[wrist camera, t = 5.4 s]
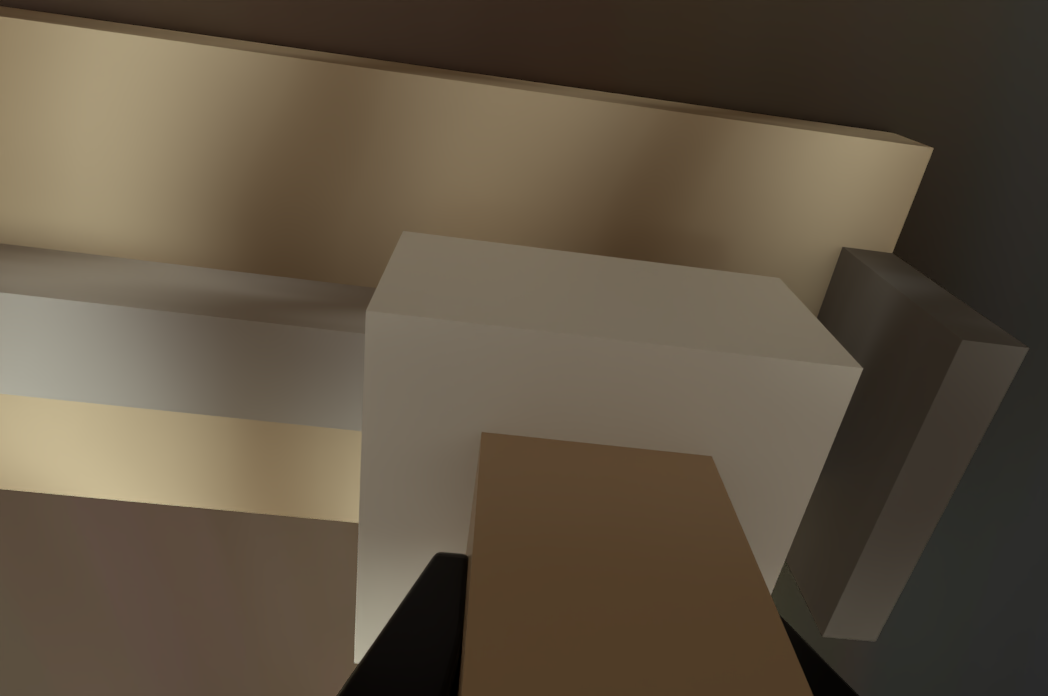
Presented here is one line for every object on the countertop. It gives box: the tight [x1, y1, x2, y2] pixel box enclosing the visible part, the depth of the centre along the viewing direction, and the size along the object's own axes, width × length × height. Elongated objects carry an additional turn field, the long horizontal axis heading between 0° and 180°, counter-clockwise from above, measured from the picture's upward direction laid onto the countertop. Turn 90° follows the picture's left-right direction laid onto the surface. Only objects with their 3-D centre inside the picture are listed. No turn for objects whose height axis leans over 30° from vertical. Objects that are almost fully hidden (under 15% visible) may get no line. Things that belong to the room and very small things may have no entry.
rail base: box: [0, 6, 1029, 642], centre depth 13 cm, size 22×10×6 cm, turn 82°
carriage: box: [354, 231, 863, 696], centre depth 9 cm, size 6×6×9 cm
